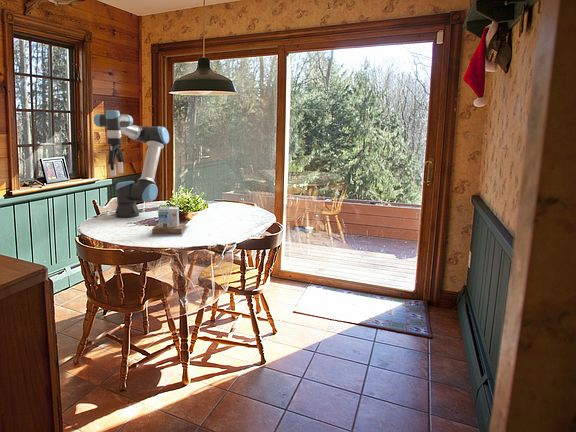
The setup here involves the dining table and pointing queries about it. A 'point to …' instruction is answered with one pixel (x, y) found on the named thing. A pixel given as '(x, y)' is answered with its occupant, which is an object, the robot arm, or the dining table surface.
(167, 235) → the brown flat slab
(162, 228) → the walnut plinth
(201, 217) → the dining table surface
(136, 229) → the dining table surface
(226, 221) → the dining table surface
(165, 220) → the light bulb box
